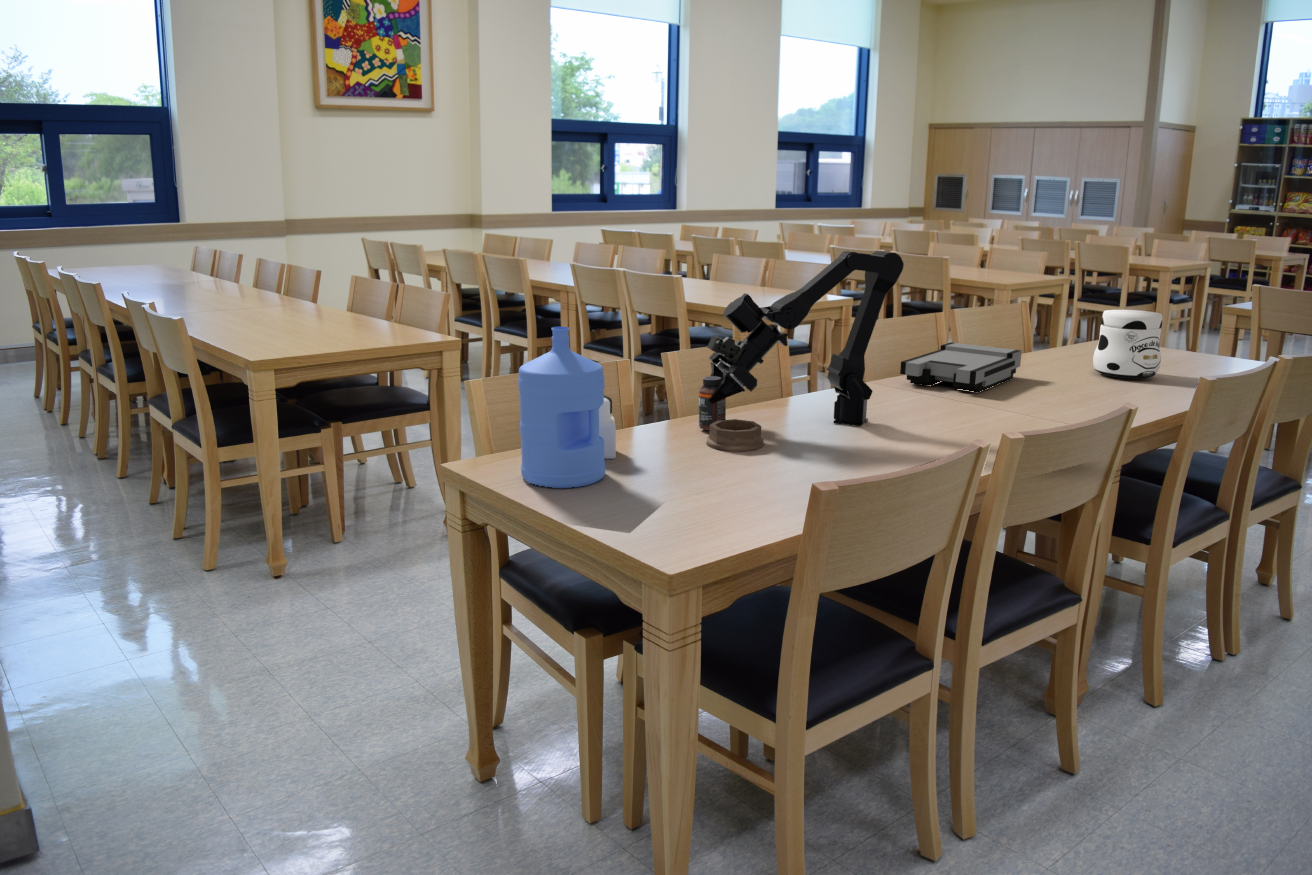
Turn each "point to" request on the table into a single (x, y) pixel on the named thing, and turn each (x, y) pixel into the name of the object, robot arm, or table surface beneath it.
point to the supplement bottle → (707, 409)
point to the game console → (963, 366)
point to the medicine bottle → (607, 428)
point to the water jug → (561, 417)
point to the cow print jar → (1129, 344)
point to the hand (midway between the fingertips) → (706, 399)
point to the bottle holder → (735, 435)
